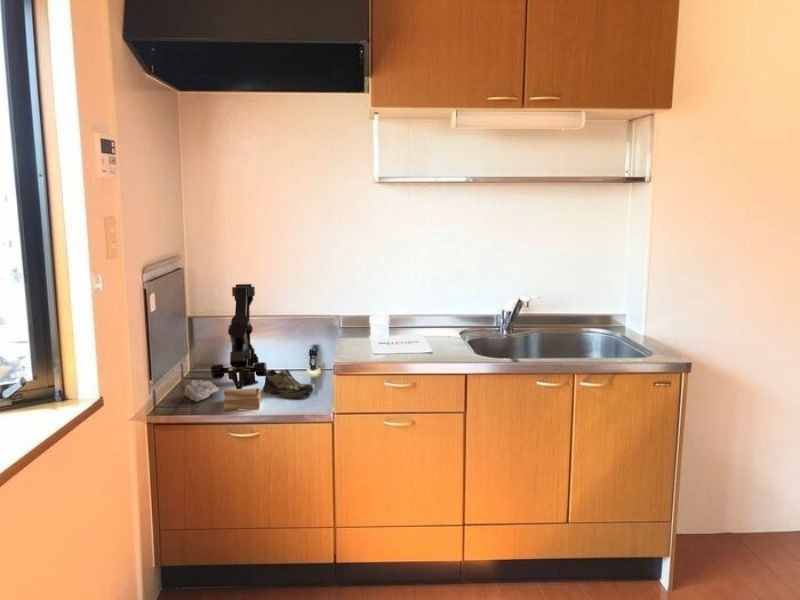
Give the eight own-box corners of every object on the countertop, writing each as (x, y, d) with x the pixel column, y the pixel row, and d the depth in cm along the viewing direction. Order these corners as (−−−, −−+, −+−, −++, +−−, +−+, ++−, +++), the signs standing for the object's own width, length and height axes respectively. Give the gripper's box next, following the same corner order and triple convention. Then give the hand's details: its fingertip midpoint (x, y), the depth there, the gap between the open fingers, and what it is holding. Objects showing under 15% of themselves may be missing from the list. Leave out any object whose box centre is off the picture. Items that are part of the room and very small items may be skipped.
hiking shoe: (304, 401, 246) (304, 376, 244) (256, 394, 254) (255, 370, 253) (316, 395, 253) (316, 371, 252) (269, 388, 262) (269, 364, 260)
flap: (223, 389, 230) (223, 390, 230) (255, 388, 231) (255, 389, 231) (225, 399, 234) (225, 400, 234) (257, 397, 236) (256, 398, 236)
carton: (227, 400, 247) (227, 389, 246) (260, 398, 249) (260, 388, 248) (224, 411, 235) (223, 400, 235) (259, 409, 237) (258, 398, 236)
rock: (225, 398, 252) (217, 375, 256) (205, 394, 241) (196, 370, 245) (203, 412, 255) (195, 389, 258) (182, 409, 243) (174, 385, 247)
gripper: (209, 342, 232) (207, 382, 224) (265, 340, 235) (264, 380, 226) (213, 357, 241) (211, 397, 233) (266, 355, 244) (266, 394, 236)
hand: (238, 392), depth 232 cm, fingers closed, pressing on flap
